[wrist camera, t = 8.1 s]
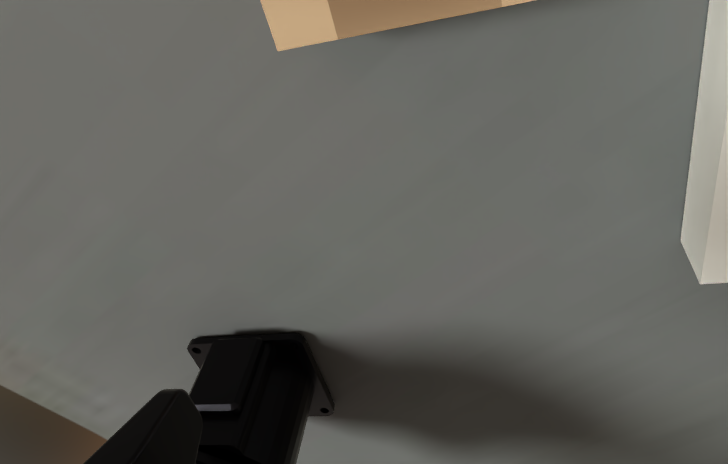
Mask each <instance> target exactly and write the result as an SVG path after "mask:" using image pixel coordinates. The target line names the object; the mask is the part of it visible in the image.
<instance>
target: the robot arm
mask: <svg viewBox="0 0 728 464" xmlns="http://www.w3.org/2000/svg"><path fill="white" fill-rule="evenodd" d="M187 349H188V352H189V353H190V355H191V356H192V358H193V359H194V361H195V362H196V364H197V365H198V367H199V368H200V371H199V373H198V376H197V378H196V380H195V382H194V385H193V387H192V389H191V391H190V393H189V395H188V393H187V392H186V391H185V390H183V389H165V390H162V391H160V392H158V393H157V394H156V395H155V396H154V397H153V398H152V399H151V400H150V401H149V402H148V403H147V404H145V405H144V406H143V407H142V408H141V409H140V410H139V411H138V412H137V413H136V414H135V415H134V416H133V417H132V418H131V419H130V420H129V421H128V422H127V423H126V424H124V425H123V426H122V427H121V428H120V429H119V430H118V431H117V432H116V433H115V434H114V435H113V436H112V437H111V438H110V439H109V440H108V441H107V442H106V443H105V444H103V446H101V447H100V448H99V449H98V450H97V451H96V452H95V453H94V454H93V455H92V456H91V457H90V458H89V459H88V460H87V461H86V462H85V463H84V464H296V462H297V458H298V454H299V450H300V446H301V442H302V438H303V434H304V430H305V426H306V422H307V418H308V416H329V415H332V414H333V412H334V407H335V405H334V402H333V400H332V398H331V396H330V393H329V391H328V389H327V387H326V385H325V382H324V380H323V378H322V376H321V374H320V371H319V369H318V367H317V365H316V362H315V360H314V358H313V356H312V354H311V351H310V349H309V347H308V345H307V343H306V340H305V339H304V337H303V336H301V335H300V334H297V333H285V334H267V335H249V336H231V337H213V338H195V339H192V340H191V341H190V343H189V345H188V348H187Z"/></svg>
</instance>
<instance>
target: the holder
mask: <svg viewBox="0 0 728 464" xmlns="http://www.w3.org/2000/svg"><path fill="white" fill-rule="evenodd" d="M260 1H261V3H262V6H263V9H264V12H265V15H266V18H267V21H268V24H269V27H270V30H271V33H272V36H273V39H274V42H275V45H276V47H277V50H278V51H282V50H287V49H292V48H297V47H302V46H307V45H312V44H317V43H322V42H327V41H332V40H337V39H342V38H348V37H353V36H358V35H363V34H368V33H373V32H378V31H383V30H388V29H393V28H398V27H403V26H408V25H413V24H418V23H423V22H429V21H434V20H439V19H444V18H449V17H454V16H459V15H464V14H469V13H474V12H479V11H484V10H489V9H494V8H499V7H504V6H509V5H515V4H520V3H525V2H530V1H535V0H260Z"/></svg>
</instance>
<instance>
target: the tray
mask: <svg viewBox="0 0 728 464" xmlns="http://www.w3.org/2000/svg"><path fill="white" fill-rule="evenodd" d="M681 243H682V245H683V247H684V250H685V252H686V254H687V256H688V258H689V261H690V263H691V265H692V267H693V270H694V272H695V274H696V276H697V278H698V281H699V283H700V284H712V283H727V282H728V0H709V9H708V17H707V25H706V33H705V42H704V50H703V58H702V67H701V75H700V83H699V91H698V100H697V108H696V116H695V125H694V133H693V141H692V149H691V158H690V166H689V174H688V183H687V191H686V199H685V207H684V216H683V224H682V232H681Z"/></svg>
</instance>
